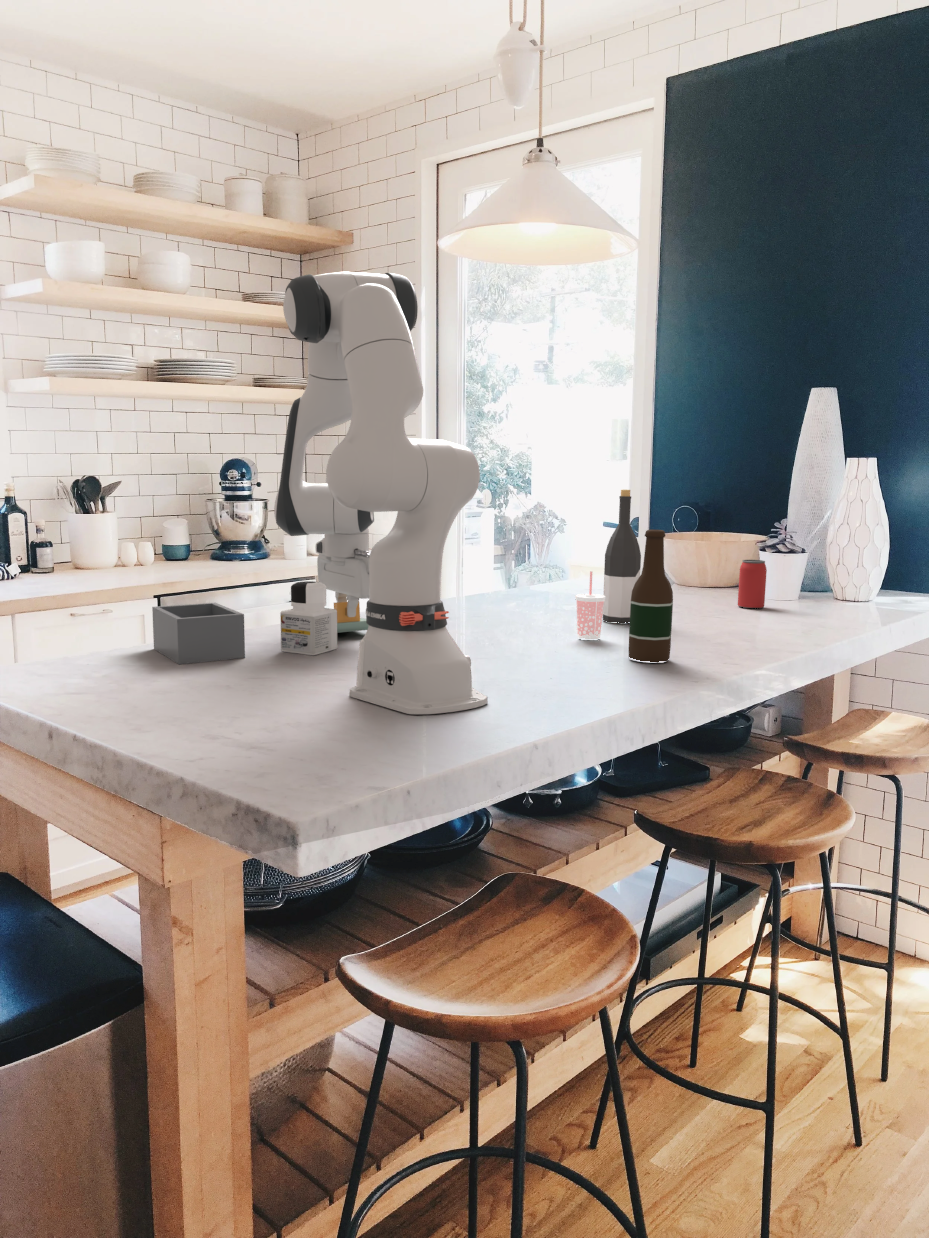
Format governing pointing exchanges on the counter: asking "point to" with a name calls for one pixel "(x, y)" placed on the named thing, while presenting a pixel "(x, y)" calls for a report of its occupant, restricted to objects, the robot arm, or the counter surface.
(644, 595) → the beer bottle
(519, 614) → the counter surface
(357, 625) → the lid
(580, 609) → the beverage cup
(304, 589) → the container
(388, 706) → the robot arm
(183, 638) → the tub
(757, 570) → the beer can
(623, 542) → the wine bottle
